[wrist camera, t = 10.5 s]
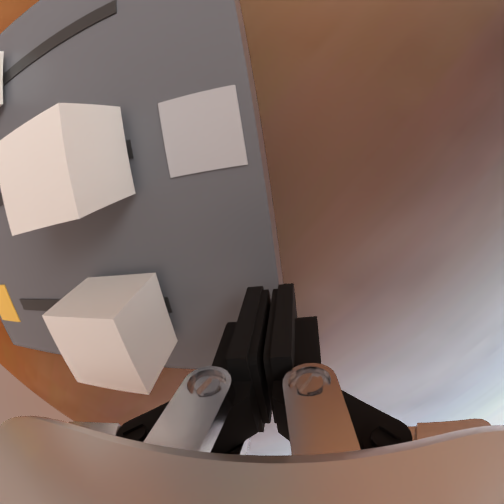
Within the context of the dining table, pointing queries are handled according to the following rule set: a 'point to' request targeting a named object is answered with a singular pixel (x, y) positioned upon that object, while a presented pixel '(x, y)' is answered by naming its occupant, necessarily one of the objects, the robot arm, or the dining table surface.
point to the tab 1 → (1, 77)
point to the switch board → (147, 163)
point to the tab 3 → (114, 331)
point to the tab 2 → (64, 166)
